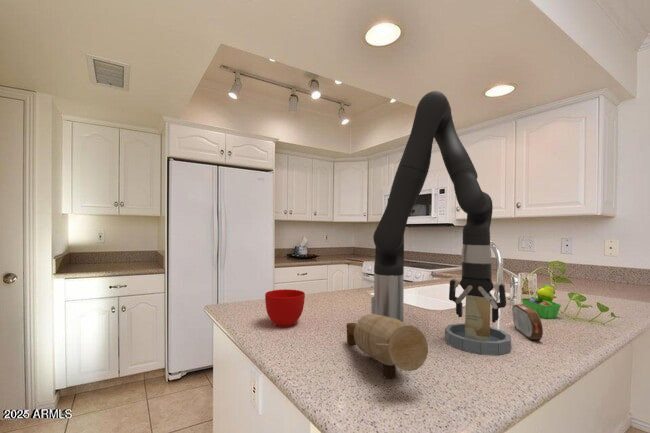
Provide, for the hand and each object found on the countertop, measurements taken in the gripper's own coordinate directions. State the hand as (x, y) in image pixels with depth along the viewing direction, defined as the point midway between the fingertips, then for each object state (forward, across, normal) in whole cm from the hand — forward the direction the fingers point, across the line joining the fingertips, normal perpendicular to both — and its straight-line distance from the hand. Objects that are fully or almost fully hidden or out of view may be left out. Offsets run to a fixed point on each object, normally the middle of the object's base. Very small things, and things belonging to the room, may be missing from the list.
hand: (476, 319), depth 87 cm
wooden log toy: (+7, +16, +29) cm, 34 cm away
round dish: (+7, 0, 0) cm, 7 cm away
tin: (+7, -11, -17) cm, 21 cm away
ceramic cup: (+7, +56, +18) cm, 59 cm away
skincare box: (+6, 0, 0) cm, 6 cm away
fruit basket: (+7, -15, -47) cm, 50 cm away
